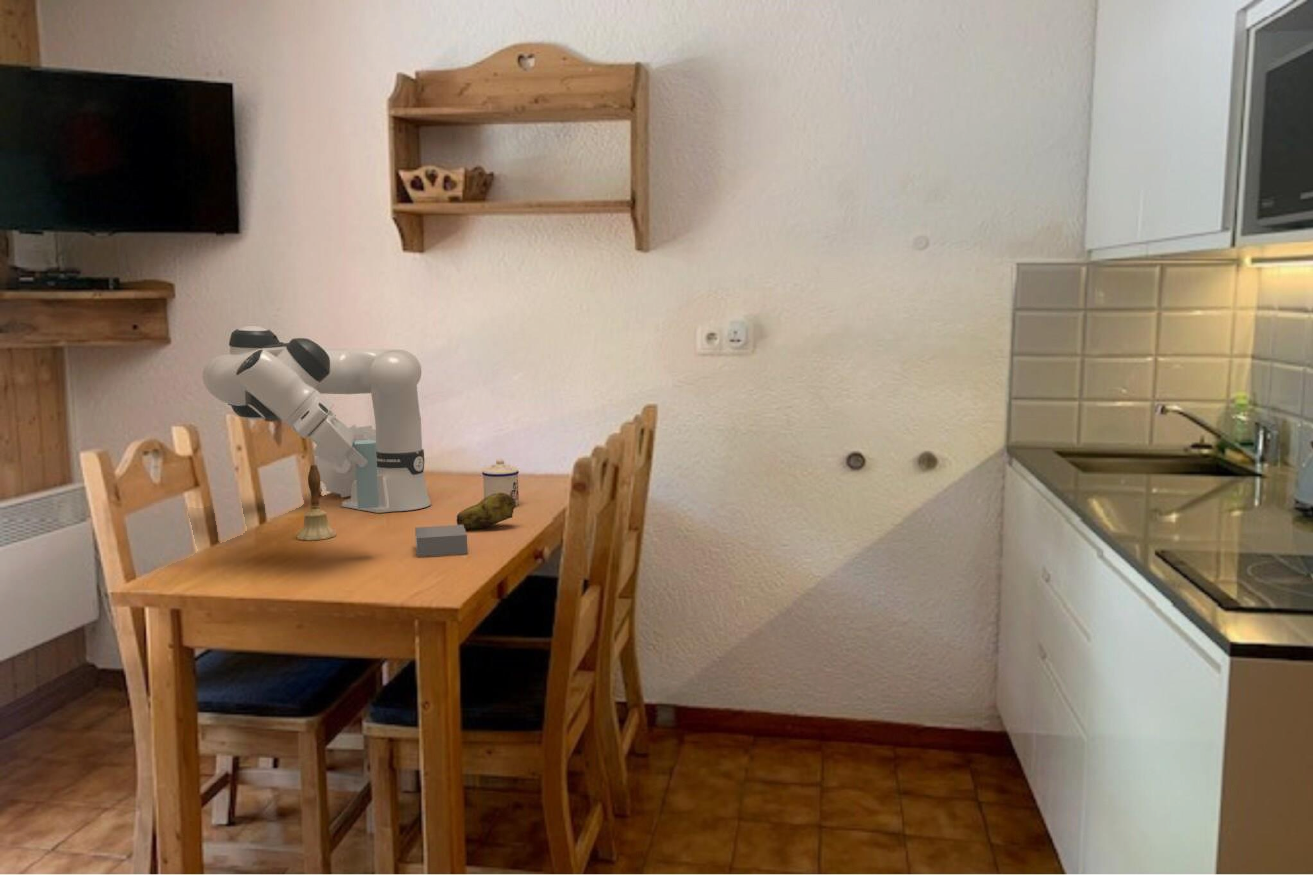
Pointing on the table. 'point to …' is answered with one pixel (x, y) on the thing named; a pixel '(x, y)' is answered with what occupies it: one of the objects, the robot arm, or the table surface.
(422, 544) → the slate slab
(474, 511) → the potato
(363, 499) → the teal block
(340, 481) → the spiral staircase
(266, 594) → the table surface
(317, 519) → the hand bell
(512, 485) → the teacup with lid
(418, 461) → the robot arm
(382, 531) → the table surface
